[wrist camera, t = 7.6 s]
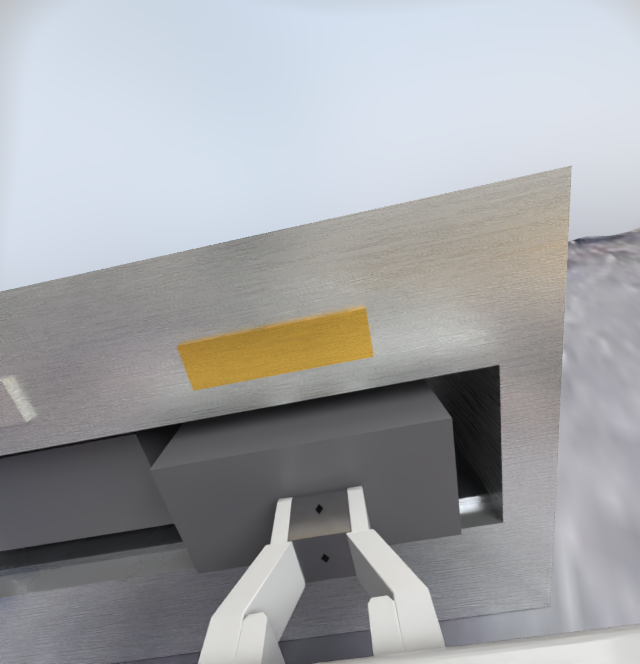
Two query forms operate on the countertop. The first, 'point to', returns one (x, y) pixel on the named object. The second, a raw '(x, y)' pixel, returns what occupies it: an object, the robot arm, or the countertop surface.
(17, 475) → the button
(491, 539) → the metal drawer cabinet
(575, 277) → the countertop surface
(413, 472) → the button
